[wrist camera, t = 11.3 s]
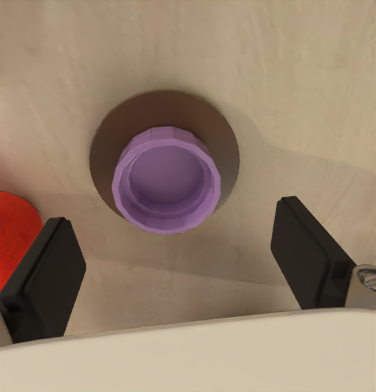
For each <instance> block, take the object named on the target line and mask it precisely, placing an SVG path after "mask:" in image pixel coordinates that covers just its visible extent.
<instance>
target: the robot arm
mask: <svg viewBox="0 0 376 392" xmlns="http://www.w3.org/2000/svg"><path fill="white" fill-rule="evenodd" d="M271 251H272V254H273V256H274V257H275V259H276V261H277V263H278V265H279V267H280V269H281V271H282V273H283V275H284V277H285V279H286V280H287V282H288V284H289V286H290V288H291V290H292V292H293V294H294V296H295V298H296V300H297V302H298V303H299V305H300V307H301V309H302V310H297V311H286V312H276V313H266V314H257V315H247V316H238V317H228V318H219V319H209V320H200V321H191V322H182V323H173V324H164V325H155V326H146V327H138V328H129V329H120V330H112V331H103V332H95V333H86V334H78V335H70V336H64V333H65V330H66V327H67V324H68V321H69V318H70V315H71V312H72V309H73V307H74V304H75V301H76V298H77V295H78V292H79V289H80V286H81V283H82V280H83V278H84V275H85V272H86V263H85V260H84V257H83V255H82V252H81V249H80V246H79V244H78V241H77V238H76V236H75V233H74V230H73V227H72V225H71V222H70V221H69V220H66V219H65V218H64V217H57V218H49V219H48V221H47V222H46V224H45V225H44V227H43V228H42V230H41V231H40V233H39V234H38V236H37V237H36V239H35V240H34V242H33V243H32V245H31V246H30V248H29V249H28V251H27V252H26V254H25V255H24V257H23V258H22V260H21V261H20V263H19V264H18V266H17V267H16V269H15V270H14V272H13V273H12V275H11V276H10V278H9V279H8V281H7V282H6V284H5V285H4V287H3V288H2V290H1V292H0V392H376V266H374V265H367V264H362V265H358V266H357V265H356V264H355V263H354V261H353V260H352V259H351V258H350V257H349V256H348V255H347V254H346V252H345V251H344V250H343V249H342V248H341V247H340V246H339V244H338V243H337V242H336V241H335V240H334V239H333V238H332V236H331V235H330V234H329V233H328V232H327V231H326V230H325V228H324V227H323V226H322V225H321V224H320V223H319V222H318V221H317V219H316V218H315V217H314V216H313V215H312V214H311V213H310V211H309V210H308V209H307V208H306V207H305V206H304V205H303V203H302V202H301V201H300V200H299V199H298V198H297V197H296V196H289V197H282V198H281V200H280V201H278V202H277V207H276V213H275V220H274V226H273V233H272V239H271Z"/></svg>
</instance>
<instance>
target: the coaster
mask: <svg viewBox="0 0 376 392" xmlns="http://www.w3.org/2000/svg"><path fill="white" fill-rule="evenodd" d="M168 126H173V127H176V128H179V129H182V130H185V131H189V132H191V133H192V134H194V135H195V136H196V137H197V138H198V139H199V140H200V141H202V142H203V143H204V144H205V145H206V147H207V149H208V151H209V153H210V155H211V157H212V159H213V161H214V163H215V166H216V168H217V170H218V172H219V174H220V177H221V195H220V198H219V200H218V202H217V204H216V206H215V209H214V211H213V212H212V213H214V212H215V211H216V210H217V209H218V208H219V207H220V206H221V205H222V204H223V203H224V202H225V200H226V199H227V198H228V196H229V195H230V193H231V191H232V189H233V187H234V185H235V182H236V179H237V175H238V171H239V149H238V144H237V141H236V138H235V135H234V133H233V131H232V129H231V127H230V126H229V124H228V122H227V121H226V119H225V118H224V117H223V116H222V115H221V114H220V113H219V112H218V111H217V110H216V109H215V108H214V107H213V106H211V105H210V104H209V103H207V102H206V101H204V100H203V99H201V98H199V97H197V96H194V95H192V94H189V93H186V92H182V91H177V90H170V89H158V90H151V91H146V92H142V93H139V94H136V95H134V96H132V97H129V98H127V99H126V100H124V101H123V102H121V103H119V104H118V105H117V106H116V107H114V108H113V109H112V110H111V111H110V112H109V113H108V114H107V116H106V117H105V118H104V119H103V120H102V122H101V123H100V125H99V127H98V128H97V130H96V132H95V135H94V137H93V140H92V144H91V148H90V157H89V160H90V171H91V176H92V179H93V182H94V185H95V187H96V189H97V191H98V193H99V194H100V196H101V197H102V199H103V200H104V201H105V203H106V204H107V205H108V206H109V207H110V208H111V209H112V210H113V211H115V212H116V213H117V214H118V215H120V216H121V217H123V218H124V219H126V218H125V217H124V216H123V215H122V213H121V212H120V211H119V209H118V208H117V207H116V204H115V200H114V196H113V192H112V182H113V178H114V174H115V169H116V166H117V164H118V161H119V158H120V156H121V153H122V151H123V150H124V149H125V147H126V146H127V145H128V144H129V142H130V141H131V140H132V138H134V137H135V136H137V135H139V134H141V133H143V132H145V131H146V130H148V129H150V128H151V129H152V128H155V127H168ZM209 216H210V215H209Z"/></svg>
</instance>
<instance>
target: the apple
mask: <svg viewBox="0 0 376 392" xmlns="http://www.w3.org/2000/svg"><path fill="white" fill-rule="evenodd" d="M42 228H43V224H42V221H41V218H40V216H39V213H38V211H37V210H36V209H35V208H34V207H33V206H32V205H31V204H30V203H28V202H27V201H26V200H25V199H22V198H20V197H18V196H15V195H13V194H10V193H8V192H3V191H0V292H1V290H2V288H3V287H4V285H5V284H6V282H7V281H8V279H9V278H10V276H11V275H12V273H13V272H14V270H15V269H16V267H17V266H18V264H19V263H20V261H21V260H22V258H23V257H24V255H25V254H26V252H27V251H28V249H29V248H30V246H31V245H32V243H33V242H34V240H35V239H36V237H37V236H38V234H39V233H40V231H41V230H42Z"/></svg>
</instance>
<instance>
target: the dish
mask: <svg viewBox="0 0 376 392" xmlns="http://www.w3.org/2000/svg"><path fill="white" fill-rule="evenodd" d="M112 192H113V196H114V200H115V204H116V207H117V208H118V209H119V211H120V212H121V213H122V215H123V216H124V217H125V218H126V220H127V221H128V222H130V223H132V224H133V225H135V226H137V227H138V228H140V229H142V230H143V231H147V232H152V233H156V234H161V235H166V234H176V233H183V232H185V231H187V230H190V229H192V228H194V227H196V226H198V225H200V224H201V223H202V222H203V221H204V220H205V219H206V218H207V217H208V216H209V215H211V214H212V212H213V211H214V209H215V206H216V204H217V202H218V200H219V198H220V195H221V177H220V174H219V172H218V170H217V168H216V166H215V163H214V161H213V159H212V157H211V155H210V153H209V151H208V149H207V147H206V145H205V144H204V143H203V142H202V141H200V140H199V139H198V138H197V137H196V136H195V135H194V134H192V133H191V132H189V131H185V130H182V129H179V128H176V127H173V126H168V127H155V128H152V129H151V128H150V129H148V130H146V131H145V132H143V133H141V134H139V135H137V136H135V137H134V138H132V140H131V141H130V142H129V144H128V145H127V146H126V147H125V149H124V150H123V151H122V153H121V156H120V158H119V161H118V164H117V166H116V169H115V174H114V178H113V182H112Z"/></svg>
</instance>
